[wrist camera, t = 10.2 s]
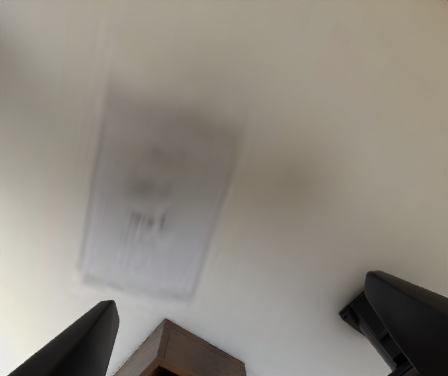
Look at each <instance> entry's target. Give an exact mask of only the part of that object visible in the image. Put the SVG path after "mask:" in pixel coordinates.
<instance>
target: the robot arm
mask: <svg viewBox="0 0 448 376" xmlns="http://www.w3.org/2000/svg"><path fill="white" fill-rule="evenodd" d="M340 317H341V318H342V319H343V320H344V321H345V322H347V323H348V324H349V325H351V326H352V327H353V328H355V329H356V330H358V331H359V332H360V333H362V334H363V335H364V336H366V337H367V339H368V340H369V341H370V343H371V344H372V345H373V346H374V348H375V349H376V350H377V352H378V353H379V354H380V356H381V357H382V358H383V359H384V361H385V362H386V363H387V365H388V366H389V367H390V369H391V370H392V371H393V372H392V373H390V374H389V375H388V376H448V298H447V297H444V296H442V295H439V294H437V293H434V292H432V291H429V290H427V289H424V288H422V287H419V286H417V285H414V284H412V283H409V282H407V281H405V280H402V279H400V278H397V277H395V276H392V275H390V274H387V273H385V272H382V271H369V272H368V273H367V274H366V281H365V288H364V291H363V292H362V293H361V294H360V295H359V296H357V297H356V298H355V299H354V300H353V301H352V302H351V303H350V304H349V305H348V306H347V307H346V308H345V309H343V310H342V311H341V312H340ZM118 328H119V316H118V311H117V307H116V303H115V301H114V300H107V301H101V302H99V303H98V304H97V305H96V306H94V307H93V308H92V309H90V310H89V311H88V312H87V313H85V314H84V315H83V316H82V317H80V318H79V319H78V320H77V321H75V322H74V323H73V324H72V325H70V326H69V327H68V328H67V329H65V330H64V331H63V332H62V333H60V334H59V335H58V336H57V337H55V338H54V339H53V340H51V341H50V342H49V343H48V344H46V345H45V346H44V347H43V348H41V349H40V350H39V351H38V352H36V353H35V354H34V355H33V356H31V357H30V358H29V359H28V360H26V361H25V362H24V363H23V364H21V365H20V366H19V367H18V368H16V369H15V370H14V371H12V372H11V373H10V374H9V375H7V376H105V375H106V372H107V368H108V365H109V361H110V357H111V354H112V350H113V346H114V343H115V339H116V335H117V332H118Z"/></svg>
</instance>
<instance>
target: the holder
mask: <svg viewBox="0 0 448 376" xmlns="http://www.w3.org/2000/svg"><path fill="white" fill-rule="evenodd" d="M161 366H162V367H164V368H165V369H167V370H169V371H171V372H173V373H175V374H177V375H179V376H246V371H245V364H244V363H242V362H240V361H239V360H237V359H235V358H233V357H232V356H230V355H228V354H226V353H225V352H223V351H221V350H219V349H218V348H216V347H214V346H212V345H211V344H209V343H207V342H205V341H204V340H202V339H200V338H198V337H197V336H195V335H193V334H191V333H190V332H188V331H186V330H184V329H183V328H181V327H179V326H177V325H176V324H174V323H172V322H170V321H169V320H167V319H165V320H164V321H163V322H162V323H161V324H160V325H159V326H158V327H157V329H156V330H155V331H154V332H153V333H152V334H151V335H150V336H149V337H148V339H147V340H146V341H145V342H144V343H143V344H142V345H141V346H140V347H139V349H138V350H137V351H136V352H135V353H134V354H133V355H132V356H131V357H130V359H129V360H128V361H127V362H126V363H125V364H124V365H123V366H122V367H121V368H120V370H119V371H118V372H117V373H116V374H115V375H114V376H153V375H154V373H155V372H156V371H157V370H158V369H159V368H160V367H161Z"/></svg>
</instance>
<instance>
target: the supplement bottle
mask: <svg viewBox="0 0 448 376" xmlns="http://www.w3.org/2000/svg"><path fill="white" fill-rule="evenodd" d="M153 376H179V375H177V374H175V373H173V372H171V371H169V370H167V369H165V368H164V367H162V366H161V367H160V368H159V369H158V370H157V371H156V372H155V373H154V375H153Z"/></svg>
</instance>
